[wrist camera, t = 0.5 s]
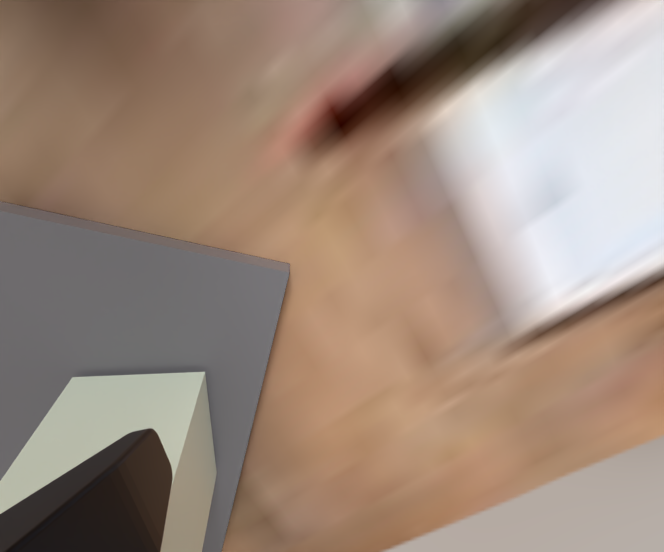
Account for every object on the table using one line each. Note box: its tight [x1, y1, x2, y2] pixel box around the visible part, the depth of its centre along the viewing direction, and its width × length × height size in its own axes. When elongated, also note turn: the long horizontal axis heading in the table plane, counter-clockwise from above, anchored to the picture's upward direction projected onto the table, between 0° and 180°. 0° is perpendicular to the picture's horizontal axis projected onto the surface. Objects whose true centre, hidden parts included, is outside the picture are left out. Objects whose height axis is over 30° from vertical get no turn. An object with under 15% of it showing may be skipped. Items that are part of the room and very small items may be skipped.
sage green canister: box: [0, 372, 217, 552], centre depth 19 cm, size 6×6×11 cm
